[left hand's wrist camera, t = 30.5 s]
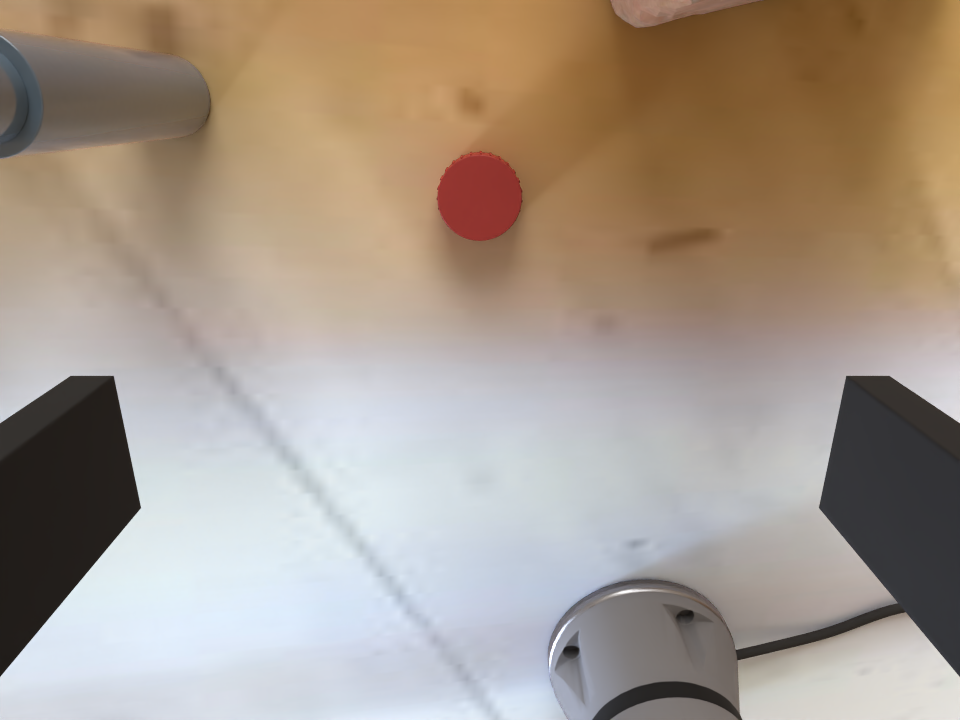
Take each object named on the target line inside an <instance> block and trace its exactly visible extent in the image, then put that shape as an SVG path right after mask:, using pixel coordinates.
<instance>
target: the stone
mask: <svg viewBox="0 0 960 720" xmlns="http://www.w3.org/2000/svg"><path fill="white" fill-rule="evenodd" d="M610 1H611V3H612V7H613V9H614V11H615V13H616V15H618V16H619V17H620V18H621V19H623V20H624V21H625V22H627V23H629V24H631V25H632V26H634V27H636V28H639V27H650V26H656V25H659V24H662V23H665V22H669V21H672V20H676V19H679V18H683V17H687V16H690V15H694V14H706V13H710V12H714V11H718V10H722V9H726V8H731V7H735V6H739V5H743V4H747V3H752V2H756V1H762V0H610Z"/></svg>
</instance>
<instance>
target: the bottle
mask: <svg viewBox="0 0 960 720" xmlns="http://www.w3.org/2000/svg"><path fill="white" fill-rule="evenodd" d="M209 109H210V95H209V90H208V87H207V84H206V82H205V80H204V78H203V77H202V75H201V74H200V72H199V71H198V70H197V69H196V68H195V67H194V66H193V65H192V64H191V63H190V62H188V61H186V60H185V59H183V58H181V57H179V56H176V55H172V54H166V53H159V52H153V51H146V50H140V49H133V48H126V47H120V46H113V45H107V44H100V43H94V42H87V41H81V40H74V39H68V38H61V37H54V36H48V35H41V34H35V33H28V32H22V31H15V30H9V29H2V28H0V159H4V158H12V157H21V156H29V155H37V154H46V153H54V152H62V151H71V150H79V149H88V148H96V147H104V146H113V145H121V144H129V143H138V142H146V141H154V140H163V139H171V138H179V137H185V136H189V135H191V134H193V133H195V132H196V131H197V130H199V129H200V128H201V127H202V126H203V124H204V123H205V121H206V119H207V117H208V114H209Z"/></svg>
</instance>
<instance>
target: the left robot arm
mask: <svg viewBox="0 0 960 720" xmlns="http://www.w3.org/2000/svg"><path fill="white" fill-rule="evenodd" d="M140 508H141V506H140V501H139V496H138V491H137V486H136V482H135V477H134V472H133V467H132V462H131V458H130V453H129V448H128V443H127V438H126V433H125V429H124V424H123V419H122V414H121V409H120V405H119V400H118V395H117V390H116V385H115V380H114V376H70V377H69V378H67V379H66V380H64V381H63V382H61V383H60V384H58V385H57V386H55V387H54V388H52V389H51V390H49V391H48V392H46V393H45V394H43V395H42V396H40V397H39V398H37V399H36V400H34V401H33V402H31V403H30V404H28V405H27V406H25V407H24V408H22V409H21V410H19V411H18V412H16V413H15V414H13V415H12V416H10V417H9V418H8V419H6V420H5V421H3V422H2V423H0V676H1V675H2V674H3V673H4V672H5V670H6V669H7V668H8V667H9V666H10V664H11V663H12V662H13V661H14V660H15V658H16V657H17V656H18V655H19V654H20V652H21V651H22V650H23V649H24V648H25V646H26V645H27V644H28V643H29V642H30V640H31V639H32V638H33V637H34V636H35V634H36V633H37V632H38V631H39V630H40V628H41V627H42V626H43V625H44V624H45V622H46V621H47V620H48V619H49V618H50V616H51V615H52V614H53V613H54V612H55V610H56V609H57V608H58V607H59V606H60V604H61V603H62V602H63V601H64V600H65V598H66V597H67V596H68V595H69V594H70V592H71V591H72V590H73V589H74V588H75V586H76V585H77V584H78V583H79V582H80V580H81V579H82V578H83V577H84V576H85V574H86V573H87V572H88V571H89V570H90V568H91V567H92V566H93V565H94V564H95V562H96V561H97V560H98V559H99V558H100V556H101V555H102V554H103V553H104V552H105V550H106V549H107V548H108V547H109V546H110V544H111V543H112V542H113V541H114V540H115V538H116V537H117V536H118V535H119V534H120V532H121V531H122V530H123V529H124V528H125V526H126V525H127V524H128V523H129V522H130V520H131V519H132V518H133V517H134V516H135V514H136V513H137V512H138V511H139V510H140ZM819 508H820V510H821V511H822V512H823V513H824V514H825V516H826V517H827V518H828V519H829V520H830V522H831V523H832V524H833V525H834V526H835V528H836V529H837V530H838V531H839V532H840V534H841V535H842V536H843V537H844V538H845V540H846V541H847V542H848V543H849V544H850V546H851V547H852V548H853V549H854V550H855V552H856V553H857V554H858V555H859V556H860V558H861V559H862V560H863V561H864V562H865V564H866V565H867V566H868V567H869V568H870V570H871V571H872V572H873V573H874V574H875V576H876V577H877V578H878V579H879V580H880V582H881V583H882V584H883V585H884V586H885V588H886V589H887V590H888V591H889V592H890V594H891V595H892V596H893V597H894V598H895V600H896V601H897V602H898V603H897V604H893V605H889V606H886V607H882V608H879V609H876V610H873V611H871V612H868V613H865V614H863V615H860V616H857V617H855V618H852V619H850V620H847V621H844V622H842V623H839V624H836V625H833V626H830V627H827V628H824V629H821V630H817V631H813V632H810V633H806V634H802V635H798V636H794V637H790V638H786V639H781V640H777V641H773V642H769V643H765V644H760V645H756V646H752V647H748V648H743V649H739V650H735V646H734V642H733V638H732V636H731V634H730V631H729V629H728V627H727V625H726V623H725V621H724V619H723V617H722V615H721V614H720V612H719V611H718V610H717V608H716V607H715V606H714V605H713V604H712V603H711V602H710V601H709V600H707V599H706V598H705V597H703V596H702V595H700V594H699V593H697V592H695V591H694V590H692V589H690V588H687V587H685V586H682V585H679V584H676V583H672V582H667V581H660V580H632V581H626V582H620V583H617V584H613V585H610V586H607V587H604V588H601V589H599V590H597V591H595V592H593V593H591V594H589V595H588V596H586V597H584V598H583V599H581V600H580V601H579V602H577V603H576V604H575V605H574V606H572V607H571V608H570V609H569V610H568V611H567V612H566V613H565V615H564V616H563V617H562V618H561V620H560V621H559V623H558V624H557V626H556V628H555V630H554V632H553V634H552V637H551V639H550V643H549V649H548V664H549V673H550V680H551V683H552V687H553V689H554V693H555V696H556V698H557V700H558V702H559V704H560V706H561V708H562V709H563V711H564V713H565V715H566V717H567V719H568V720H742V718H741V716H740V710H739V687H738V664H737V660H741V659H745V658H749V657H754V656H758V655H762V654H766V653H771V652H775V651H779V650H783V649H787V648H791V647H796V646H800V645H804V644H808V643H811V642H815V641H819V640H822V639H826V638H829V637H833V636H836V635H839V634H841V633H844V632H847V631H850V630H852V629H855V628H858V627H860V626H863V625H865V624H868V623H871V622H873V621H876V620H879V619H882V618H885V617H888V616H892V615H895V614H899V613H904V612H906V613H907V614H908V615H909V616H910V618H911V619H912V620H913V621H914V622H915V624H916V625H917V626H918V627H919V628H920V630H921V631H922V632H923V633H924V634H925V636H926V637H927V638H928V639H929V640H930V642H931V643H932V644H933V645H934V646H935V648H936V649H937V650H938V651H939V652H940V654H941V655H942V656H943V657H944V658H945V660H946V661H947V662H948V663H949V664H950V666H951V667H952V668H953V669H954V670H955V672H956V673H957V674H958V675H959V676H960V423H958V422H957V421H955V420H954V419H952V418H951V417H950V416H948V415H947V414H945V413H944V412H942V411H941V410H939V409H938V408H936V407H935V406H933V405H932V404H930V403H929V402H927V401H926V400H924V399H923V398H921V397H920V396H918V395H917V394H915V393H914V392H912V391H911V390H909V389H908V388H906V387H905V386H903V385H902V384H900V383H899V382H897V381H896V380H894V379H893V378H891V377H890V376H846V380H845V385H844V390H843V395H842V400H841V405H840V409H839V414H838V419H837V424H836V429H835V433H834V438H833V443H832V448H831V453H830V458H829V462H828V467H827V472H826V477H825V482H824V486H823V491H822V496H821V501H820V506H819Z"/></svg>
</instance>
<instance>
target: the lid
mask: <svg viewBox="0 0 960 720" xmlns="http://www.w3.org/2000/svg"><path fill="white" fill-rule="evenodd" d="M445 171H446V172H445V174H444V176H442V177H441V179H440V180H441V182H440V185H439V186H438V188H437V190H438V197H437V200H438V206H439V208H438V209H439V211H440V213H441V216H442V219H443V220H444V221H445V223H446V224H447V225H448V227H449V228H450V229H451V230H453V231H454V232H455V233H456V234H458V235H460V236H462V237H464V238H467V239H470V240H476V241H483V240H489V239H493V238H496V237H498V236H500V235H501V234H503V233H504V232H506V231H507V230H508V229H509V228H510V227H511V226H512V225H513V223H514V222H515V221H516V218H517V216H518V214H519V212H520V207H521V202H522V196H521V192H522V189H521V187H520V185H519V183H520V181H519V179H518V178H517V177H516V175H515V171H514V169H513V170H512V169H511V167H510V166H509V164H508V162H505V161H504V160H502V159H501V157H500V156H499V157H497V156H495V155H492V154H491V153H483V152H482V151H480V152H477V153H472V152H470V154H467V155H464V156H463V155H461V157H460V158H459V159H457V160H456V161H455V160H454V161H453V162H452V164H451V165H450V166H449V168H448V167H447V168H446V170H445Z"/></svg>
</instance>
